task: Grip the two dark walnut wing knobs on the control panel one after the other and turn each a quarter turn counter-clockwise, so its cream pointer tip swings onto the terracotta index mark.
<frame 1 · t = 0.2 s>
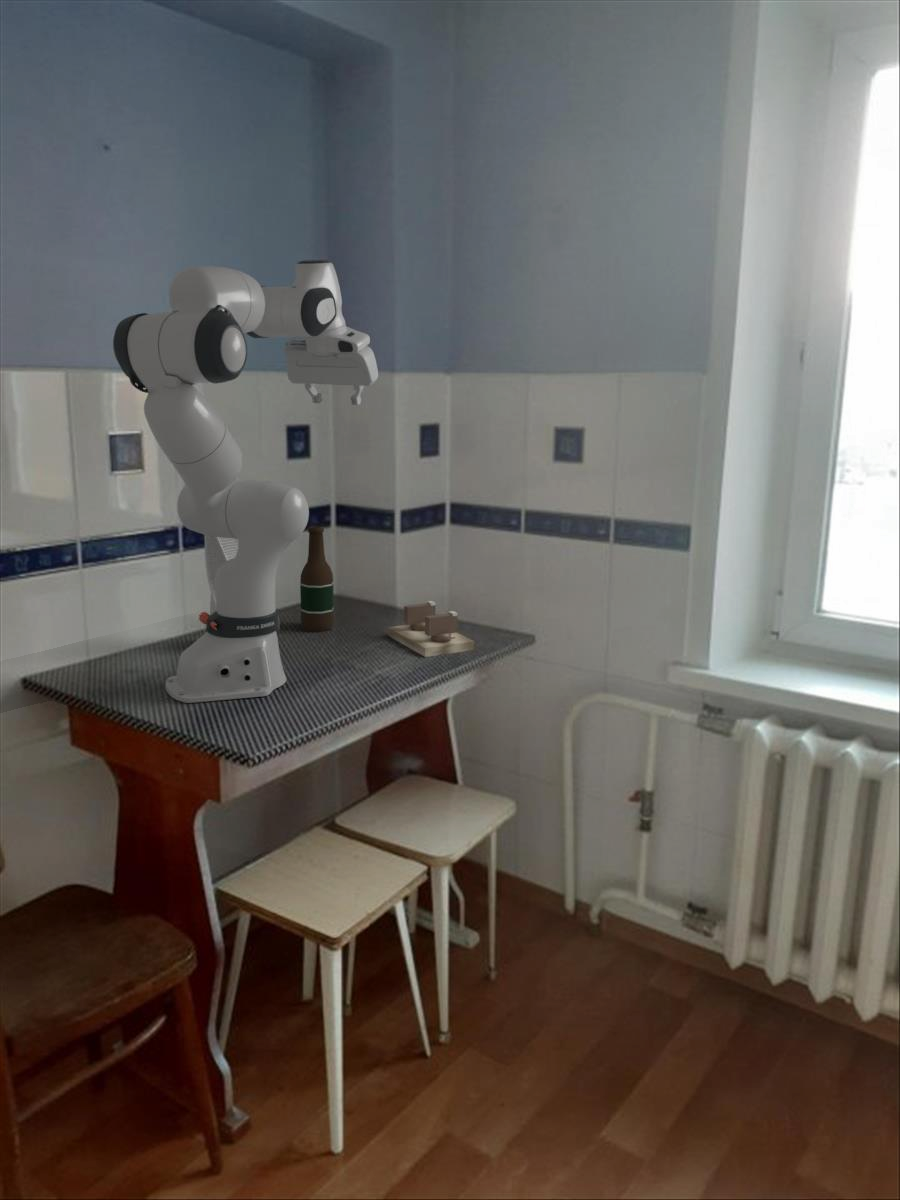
hand: (336, 403, 201), 52 cm above the table, tool tilted 20°, fingers open, 8 cm apart
control panel: (429, 642, 207), on the table
beer bottle: (317, 628, 217), on the table
knob near: (441, 626, 202), point 5 cm above the table, hinge at 0.0°
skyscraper: (226, 648, 202), on the table
knob far: (419, 615, 210), point 5 cm above the table, hinge at 0.0°
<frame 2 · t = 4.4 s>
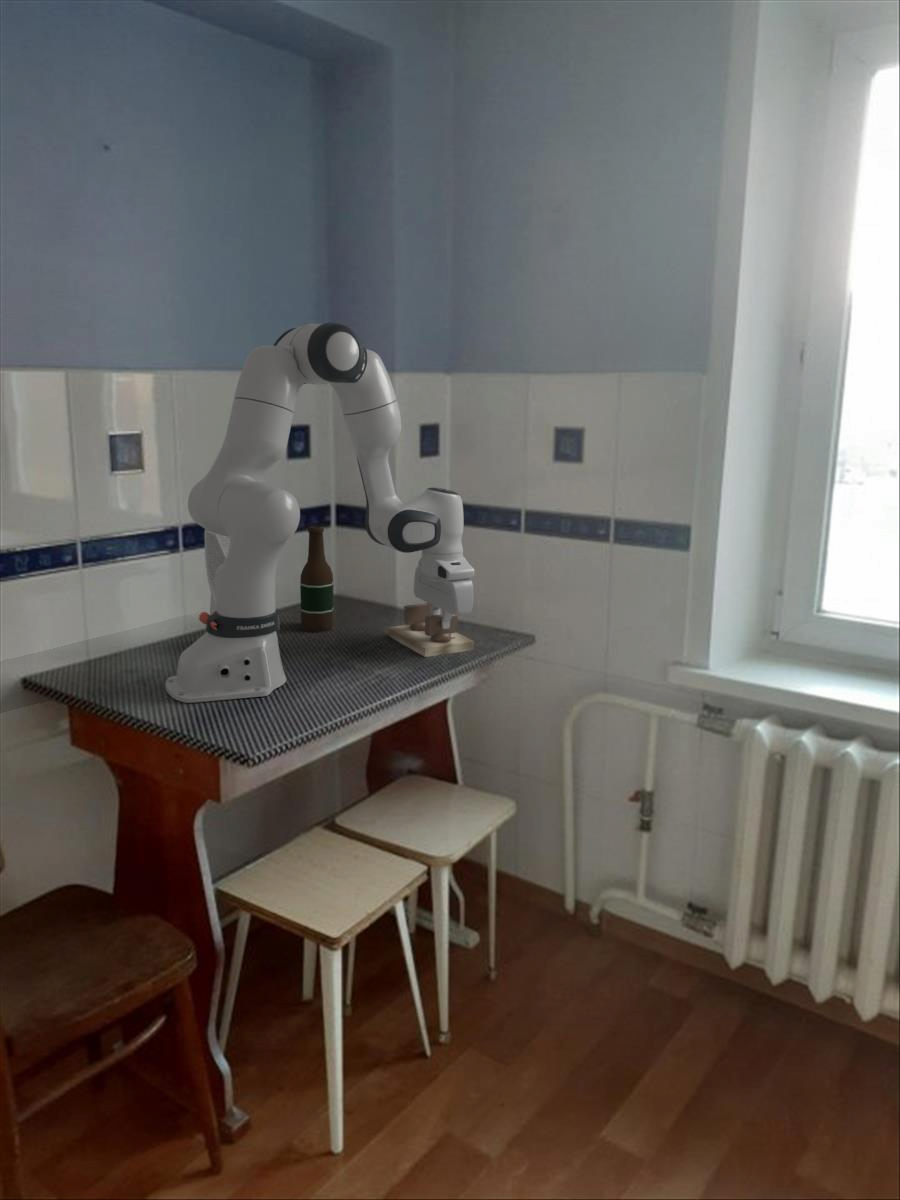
hand: (441, 626, 202), 5 cm above the table, tool pointing down, fingers closed on knob near, 2 cm apart
knob near: (441, 626, 202), point 5 cm above the table, hinge at 0.0°, touching gripper
everything else where it was.
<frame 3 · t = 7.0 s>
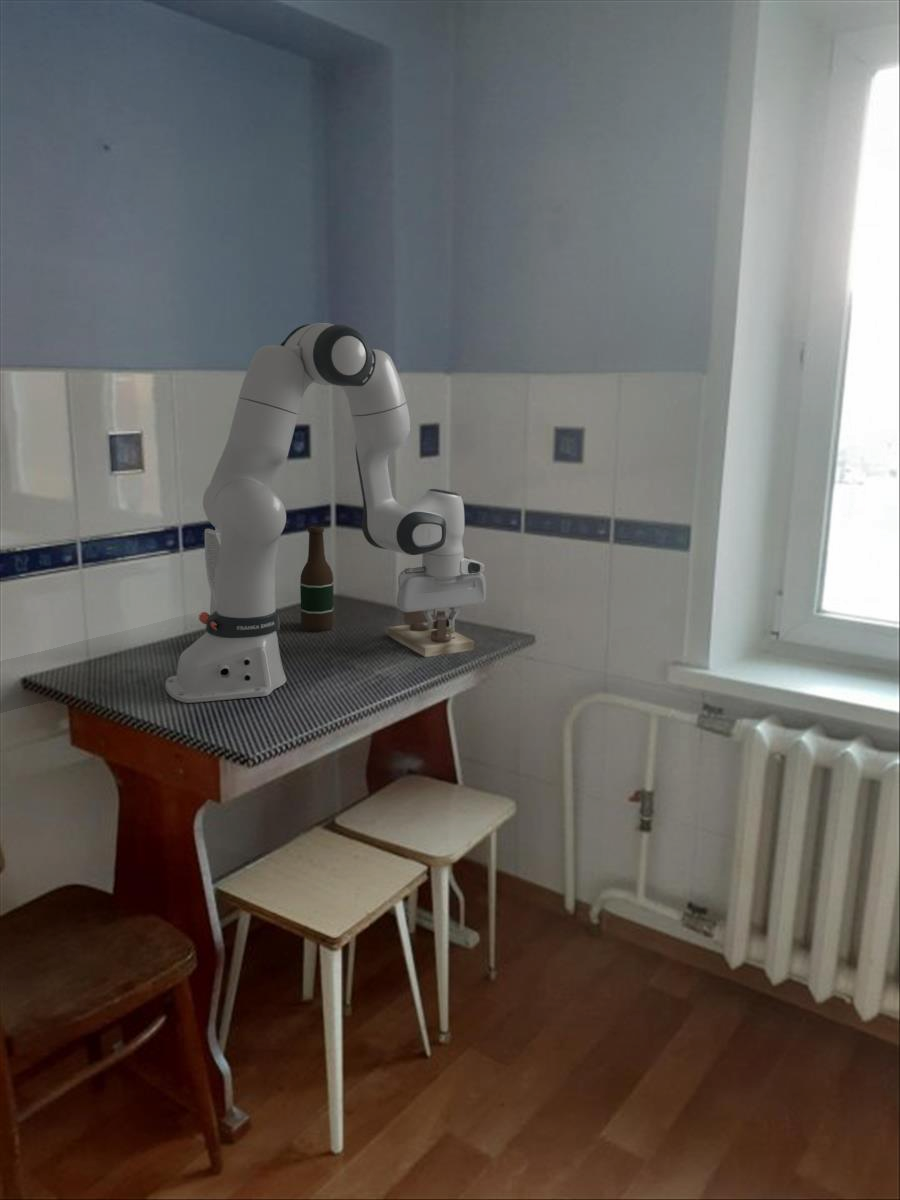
hand: (441, 627, 201), 5 cm above the table, tool pointing down, fingers closed on knob near, 3 cm apart
knob near: (441, 626, 202), point 5 cm above the table, hinge at 63.6°, touching gripper
everything else where it was.
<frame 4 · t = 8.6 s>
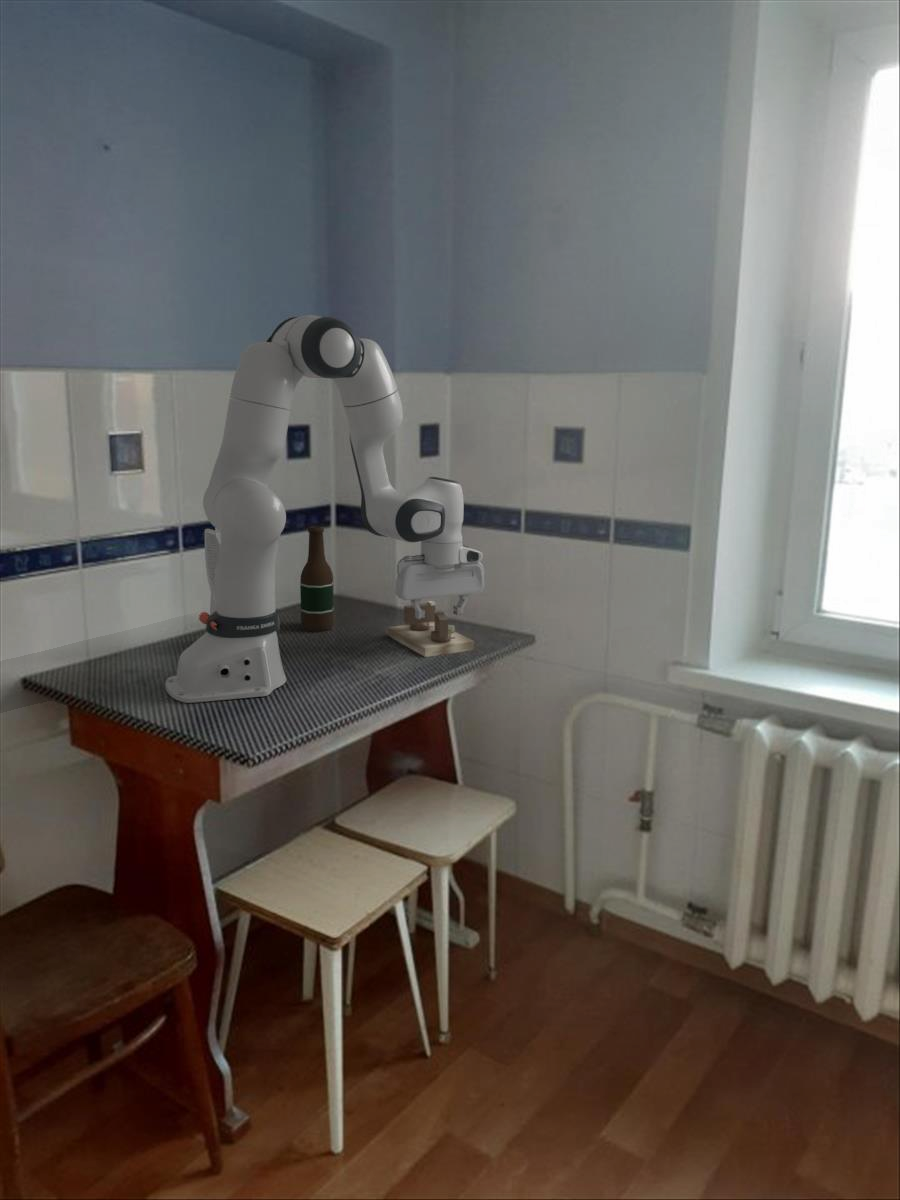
hand: (439, 616, 201), 7 cm above the table, tool pointing down, fingers open, 8 cm apart
knob near: (441, 626, 202), point 5 cm above the table, hinge at 70.5°
everything else where it was.
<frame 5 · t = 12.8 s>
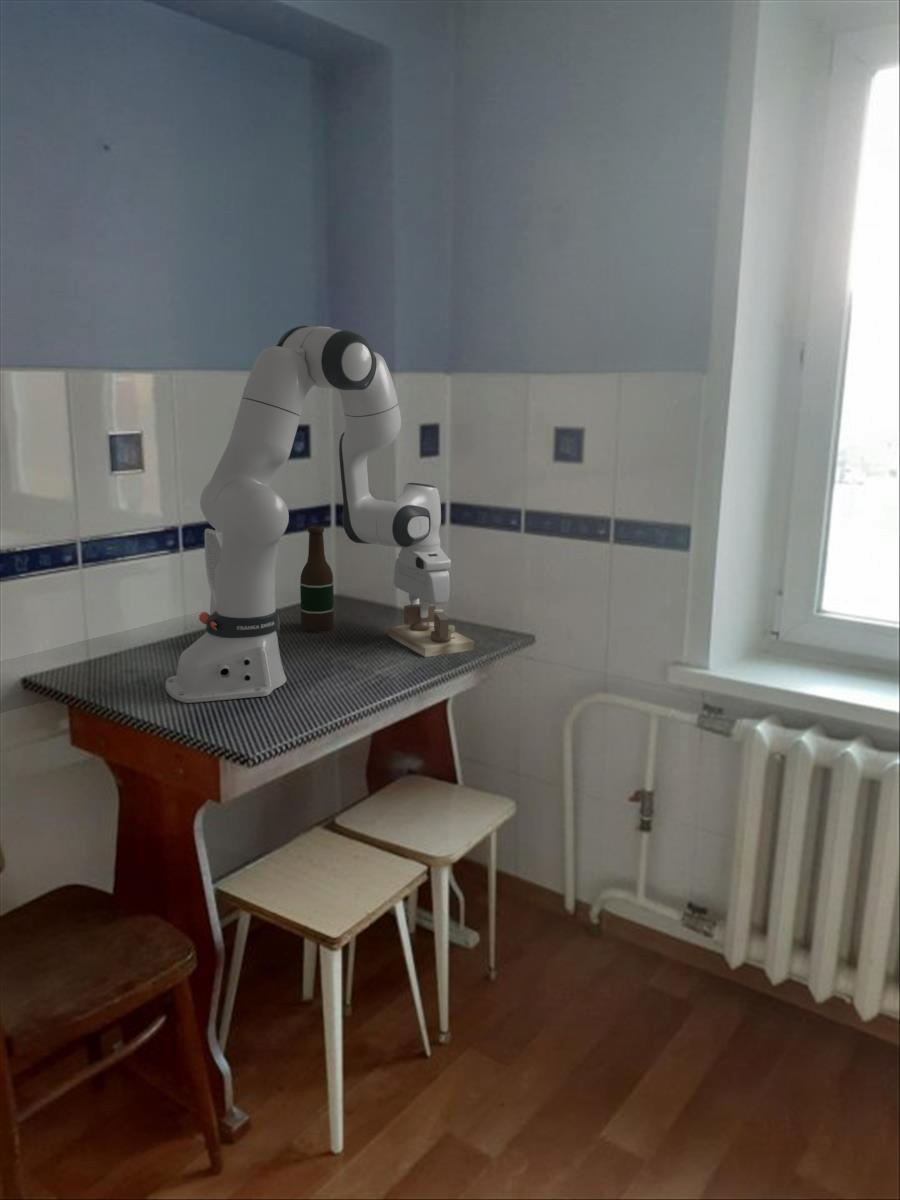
hand: (419, 615, 210), 5 cm above the table, tool pointing down, fingers closed on knob far, 2 cm apart
knob near: (441, 626, 202), point 5 cm above the table, hinge at 72.2°
knob far: (419, 615, 210), point 5 cm above the table, hinge at 0.0°, touching gripper
everything else where it was.
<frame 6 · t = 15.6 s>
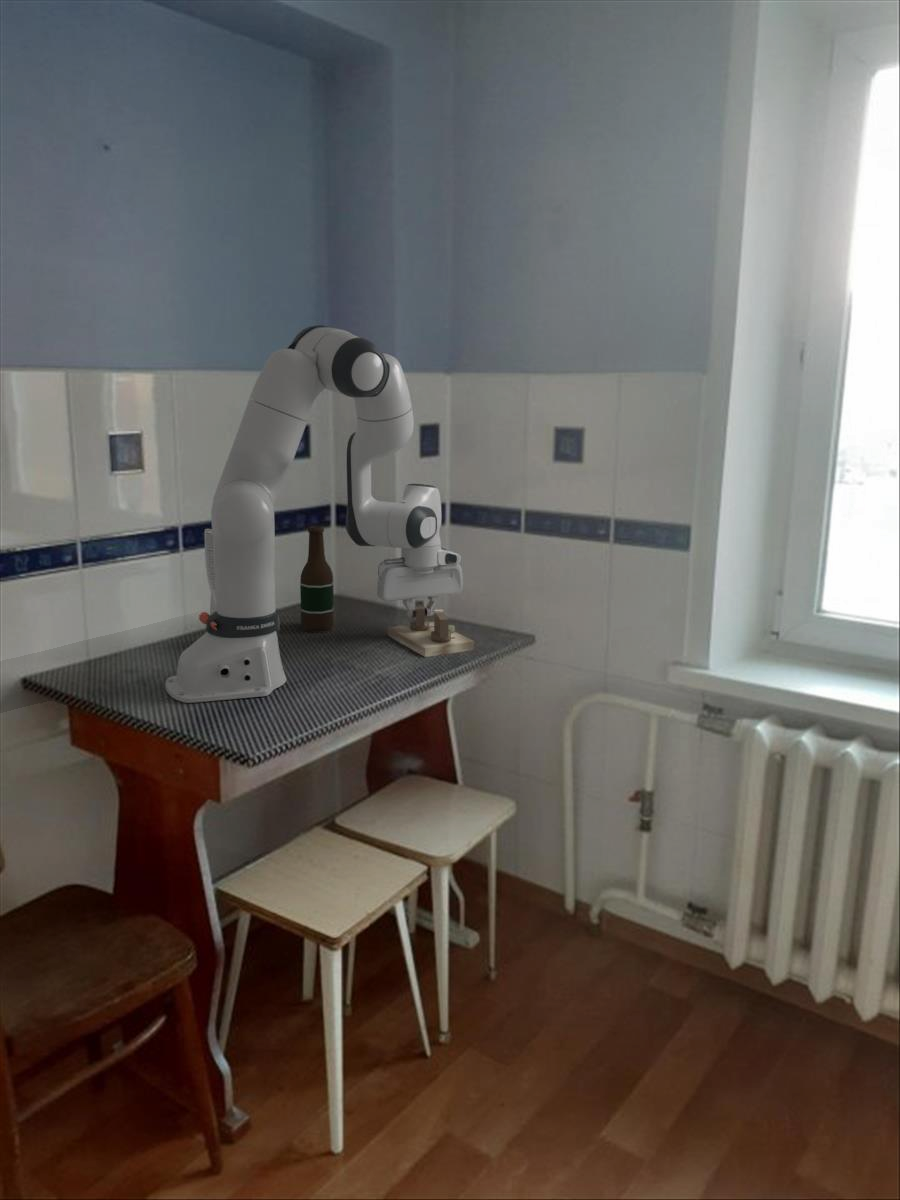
hand: (419, 616, 210), 5 cm above the table, tool pointing down, fingers closed on knob far, 3 cm apart
knob far: (419, 615, 210), point 5 cm above the table, hinge at 65.5°, touching gripper
everything else where it was.
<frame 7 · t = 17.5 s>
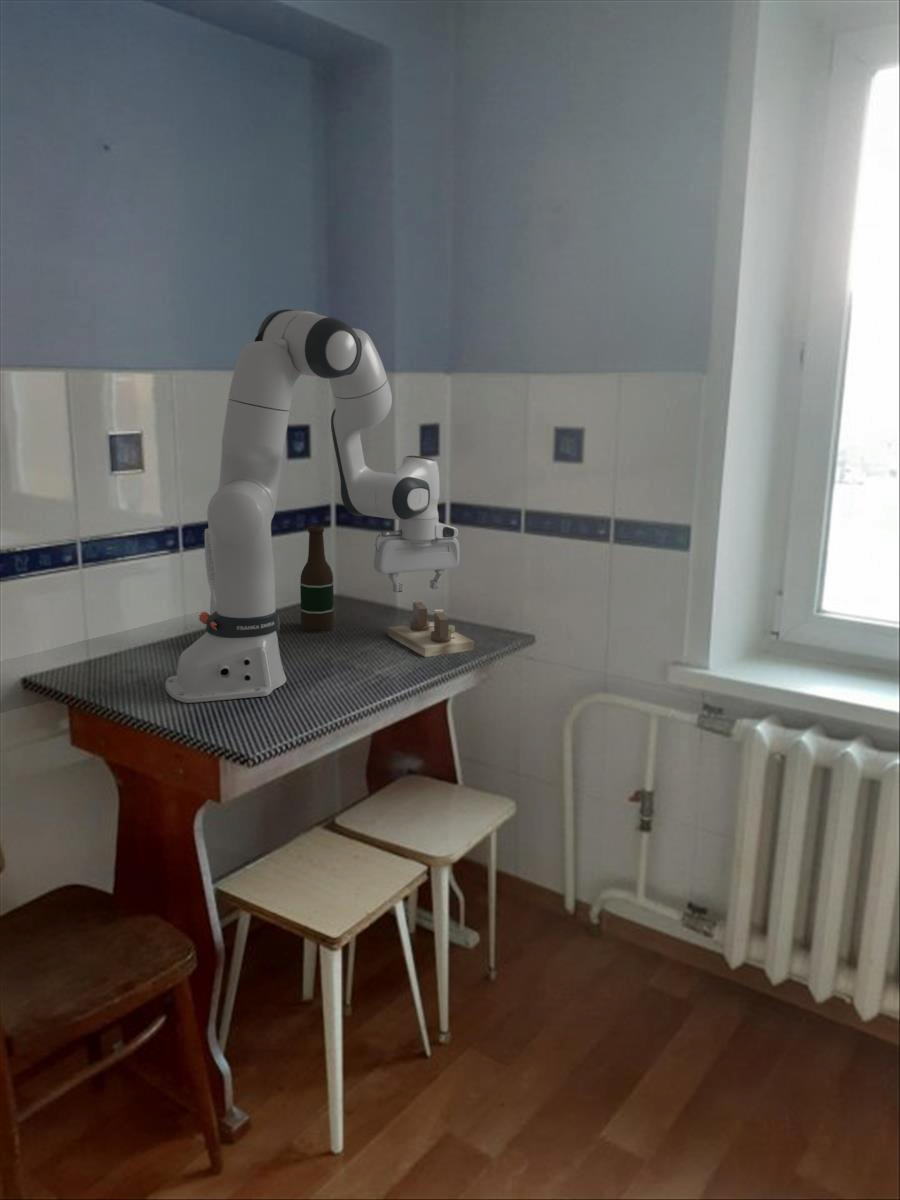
hand: (416, 590, 209), 11 cm above the table, tool pointing down, fingers open, 8 cm apart
knob far: (419, 615, 210), point 5 cm above the table, hinge at 74.0°
everything else where it was.
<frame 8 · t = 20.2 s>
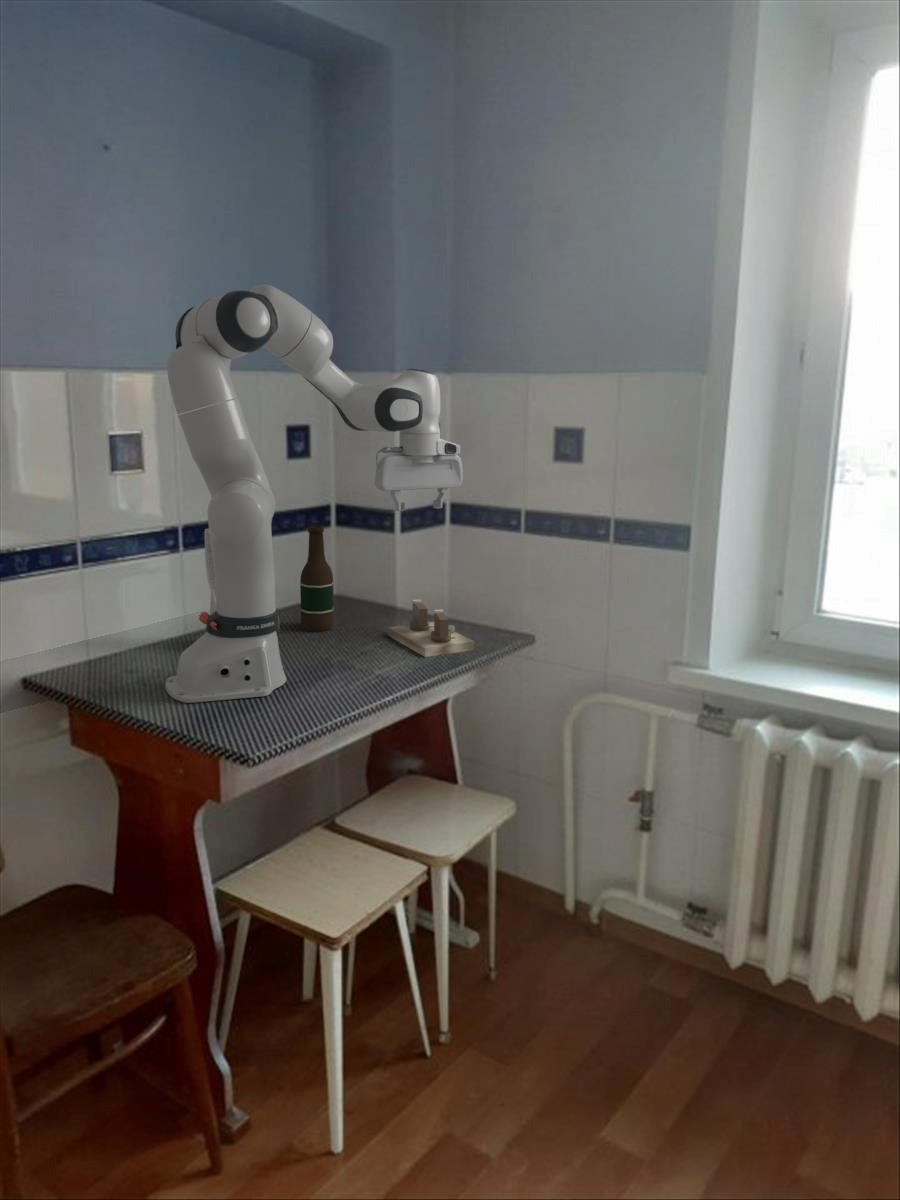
hand: (419, 509, 205), 29 cm above the table, tool pointing down, fingers open, 8 cm apart
knob far: (419, 615, 210), point 5 cm above the table, hinge at 75.4°
everything else where it was.
at the end: knob near at +72° (first picture: +0°); knob far at +75° (first picture: +0°) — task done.
